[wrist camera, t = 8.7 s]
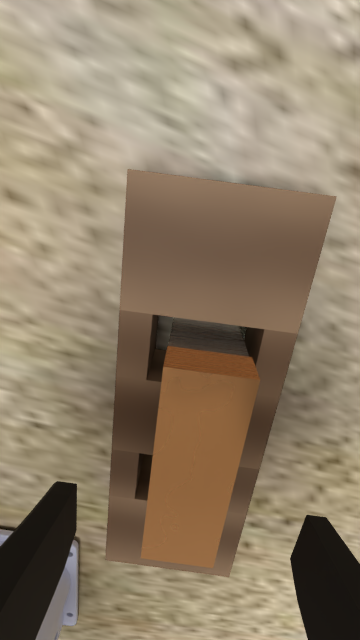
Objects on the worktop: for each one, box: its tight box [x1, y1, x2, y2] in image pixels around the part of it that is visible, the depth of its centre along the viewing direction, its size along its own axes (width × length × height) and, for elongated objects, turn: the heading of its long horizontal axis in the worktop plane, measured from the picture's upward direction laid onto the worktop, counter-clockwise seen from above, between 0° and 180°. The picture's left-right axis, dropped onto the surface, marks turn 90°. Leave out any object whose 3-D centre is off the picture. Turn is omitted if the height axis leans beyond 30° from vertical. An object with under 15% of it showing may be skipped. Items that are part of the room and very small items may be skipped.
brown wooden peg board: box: [106, 169, 336, 577], centre depth 15 cm, size 20×7×3 cm, turn 173°
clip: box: [141, 317, 260, 568], centre depth 14 cm, size 9×3×6 cm, turn 173°
